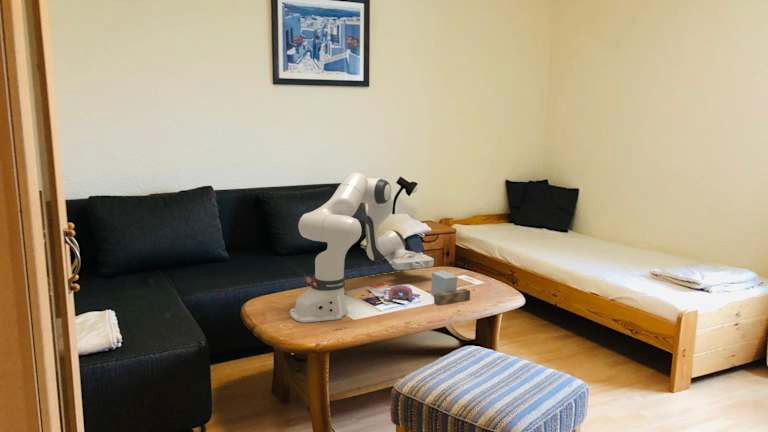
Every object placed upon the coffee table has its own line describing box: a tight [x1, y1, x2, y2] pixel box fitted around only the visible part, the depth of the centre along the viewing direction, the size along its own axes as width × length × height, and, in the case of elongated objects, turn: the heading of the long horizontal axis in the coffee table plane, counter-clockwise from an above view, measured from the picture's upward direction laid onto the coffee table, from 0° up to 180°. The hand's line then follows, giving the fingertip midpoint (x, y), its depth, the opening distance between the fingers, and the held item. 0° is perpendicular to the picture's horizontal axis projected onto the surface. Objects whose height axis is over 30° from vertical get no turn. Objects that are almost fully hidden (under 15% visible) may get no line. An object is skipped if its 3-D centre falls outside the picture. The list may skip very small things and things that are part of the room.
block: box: [430, 270, 458, 297], centre depth 244 cm, size 6×10×10 cm, turn 28°
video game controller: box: [388, 285, 413, 302], centre depth 240 cm, size 10×5×7 cm, turn 85°
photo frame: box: [455, 274, 486, 290], centre depth 265 cm, size 15×1×18 cm
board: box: [433, 288, 471, 306], centre depth 239 cm, size 16×3×4 cm, turn 118°
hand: (421, 267), depth 257 cm, fingers closed
